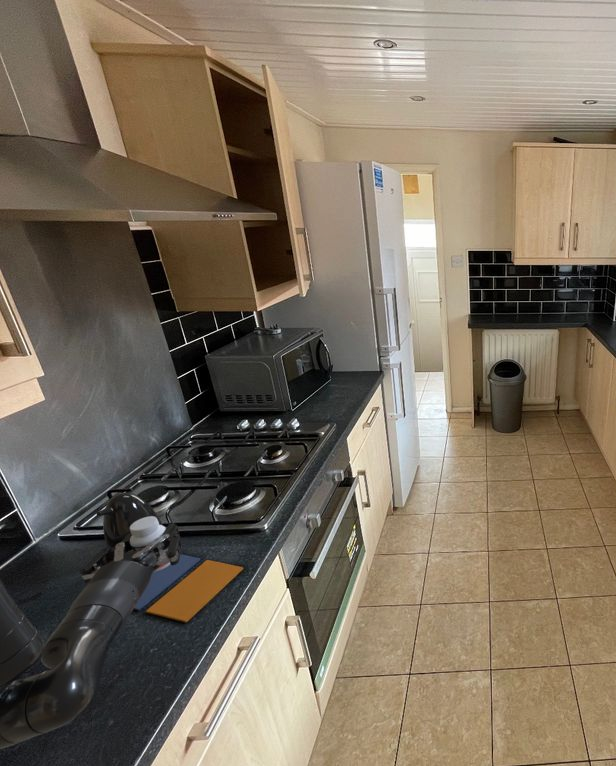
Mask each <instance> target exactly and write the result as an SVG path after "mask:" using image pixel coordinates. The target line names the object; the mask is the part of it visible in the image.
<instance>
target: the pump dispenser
mask: <svg viewBox="0 0 616 766" xmlns="http://www.w3.org/2000/svg"><path fill="white" fill-rule="evenodd" d="M95 514H96V516H97V517H101V516H102V517H103V519H102V527H103V528H102V529H103V537H104V541H105V544H106V547H111V548H113V547H116V545H117V544H118V543H121V542H122V540H123V539H124V538H125V536H126V535H127V534H129V533H130V532H131V531H130V526H131V525H132V524H133V523H134V522H136V521H137V520H139V519H142V518H145V517H150V516H154V517H156V518H157V520H158V522H159V525H163V522H162V520H161V518H160V516H159V515H158V513H157V512H156V510H154V508H153V507H152V506H151V505H150V504H149V503H148V502H147V501H146V500H144V499H143V498H142V497H140V496H139V495H137V494H135V493H131V492H121V493H117V494H115V495H114V496H112V497H111V498H110V499H109V500H108V501H107V503H106V505H105V508H104V509H101V510H98V511H97V512H96V513H95ZM132 551H133V549H132ZM128 552H130V551H128Z"/></svg>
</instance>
